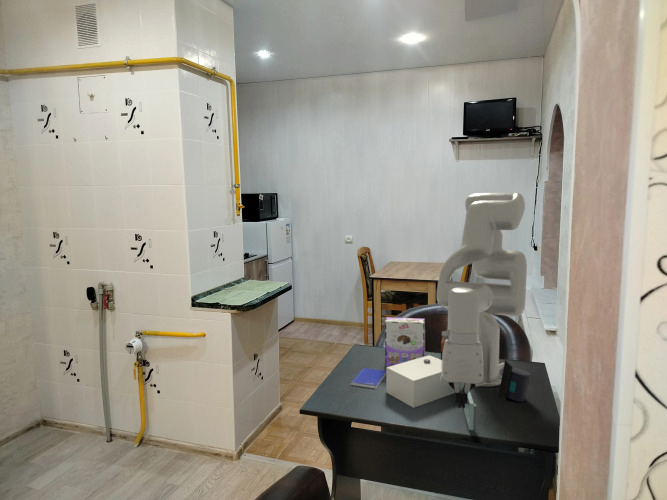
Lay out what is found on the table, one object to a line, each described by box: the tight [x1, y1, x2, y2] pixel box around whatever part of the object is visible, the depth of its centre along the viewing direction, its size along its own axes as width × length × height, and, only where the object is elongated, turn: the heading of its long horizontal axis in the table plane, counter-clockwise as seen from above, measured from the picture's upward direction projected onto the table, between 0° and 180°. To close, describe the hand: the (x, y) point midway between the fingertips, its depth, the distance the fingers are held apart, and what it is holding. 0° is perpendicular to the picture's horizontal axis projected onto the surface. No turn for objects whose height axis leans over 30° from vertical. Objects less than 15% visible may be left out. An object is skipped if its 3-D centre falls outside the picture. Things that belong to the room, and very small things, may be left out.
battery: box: [440, 337, 448, 360], centre depth 159 cm, size 4×7×10 cm, turn 162°
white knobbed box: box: [385, 354, 455, 409], centre depth 137 cm, size 19×12×9 cm, turn 123°
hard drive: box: [350, 367, 386, 389], centre depth 148 cm, size 2×8×12 cm
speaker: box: [498, 359, 531, 403], centre depth 132 cm, size 8×6×10 cm
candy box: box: [384, 316, 426, 367], centre depth 159 cm, size 14×6×16 cm, turn 77°
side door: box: [459, 383, 478, 431], centre depth 125 cm, size 24×2×7 cm, turn 171°
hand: (461, 405), depth 116 cm, fingers closed
